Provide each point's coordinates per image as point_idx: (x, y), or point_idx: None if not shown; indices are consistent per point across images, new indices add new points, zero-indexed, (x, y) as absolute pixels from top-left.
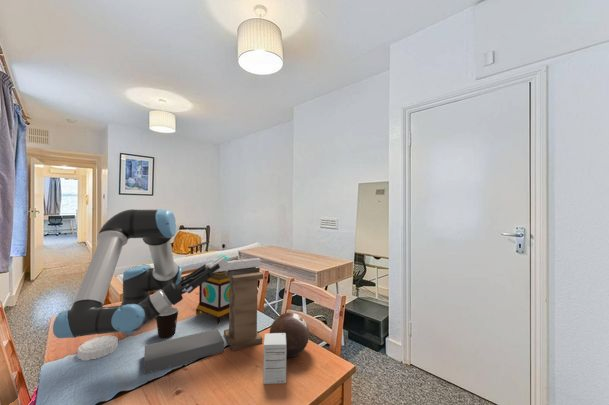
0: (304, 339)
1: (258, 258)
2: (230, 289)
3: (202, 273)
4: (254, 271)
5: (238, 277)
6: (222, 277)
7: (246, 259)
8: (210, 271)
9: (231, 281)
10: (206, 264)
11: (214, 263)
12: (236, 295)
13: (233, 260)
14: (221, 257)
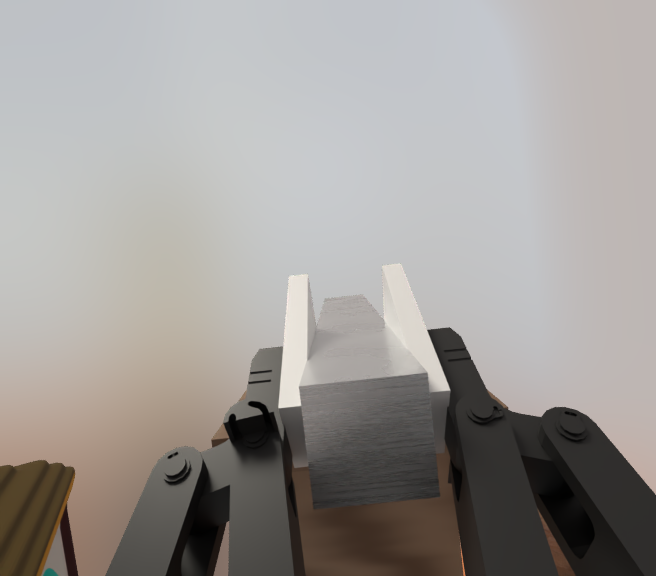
0: None
1: (338, 297)
2: (314, 559)
3: (541, 522)
4: None
5: (489, 394)
6: (20, 568)
7: (332, 305)
8: (533, 422)
9: None
10: (378, 376)
11: (362, 348)
12: (457, 543)
13: (319, 318)
14: (308, 292)
